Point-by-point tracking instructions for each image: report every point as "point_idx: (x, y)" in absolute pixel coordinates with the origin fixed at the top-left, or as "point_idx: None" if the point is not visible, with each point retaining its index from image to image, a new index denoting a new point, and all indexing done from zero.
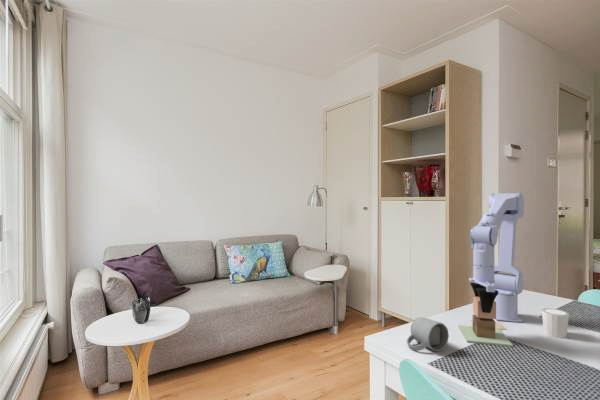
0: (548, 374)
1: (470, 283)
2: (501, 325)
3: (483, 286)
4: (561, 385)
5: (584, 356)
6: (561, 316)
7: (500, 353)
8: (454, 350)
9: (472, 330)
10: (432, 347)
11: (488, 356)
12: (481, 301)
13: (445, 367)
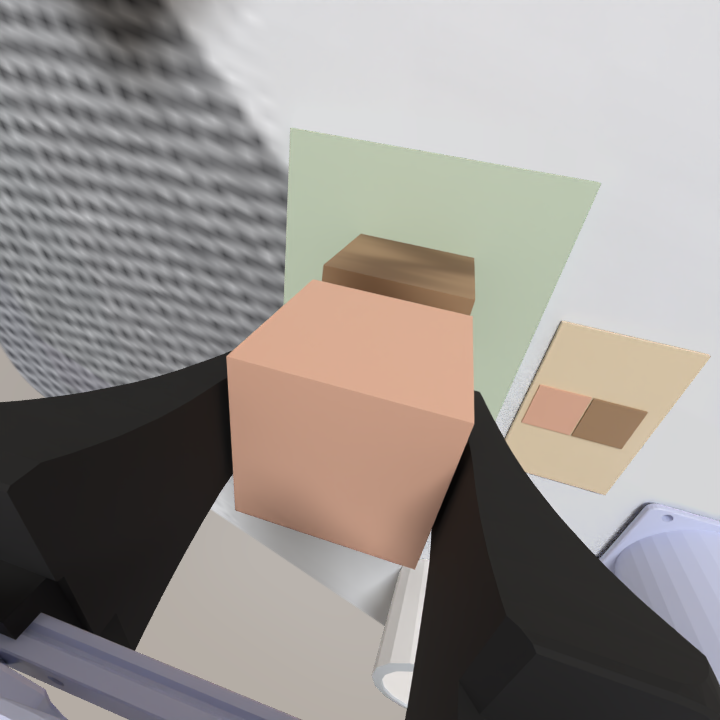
0: (82, 343)
1: (649, 684)
2: (555, 473)
3: (428, 705)
4: (27, 334)
5: (255, 523)
6: (373, 670)
7: (194, 266)
8: None
9: (475, 257)
10: None
11: (139, 182)
12: (164, 375)
13: None
